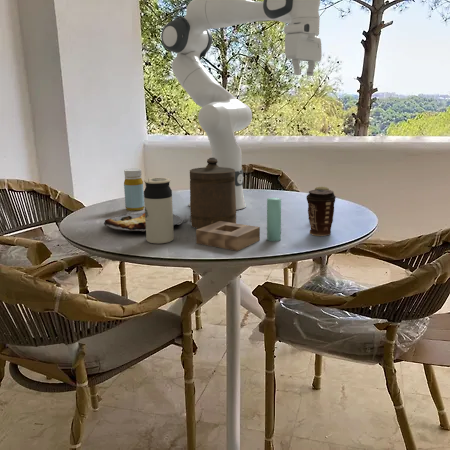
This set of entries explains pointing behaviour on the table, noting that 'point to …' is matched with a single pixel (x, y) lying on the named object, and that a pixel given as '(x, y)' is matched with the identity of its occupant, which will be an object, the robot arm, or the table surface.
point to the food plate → (132, 222)
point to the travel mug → (158, 210)
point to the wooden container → (212, 195)
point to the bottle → (133, 190)
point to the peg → (273, 219)
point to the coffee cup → (320, 211)
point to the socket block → (228, 235)
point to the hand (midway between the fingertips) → (303, 75)
